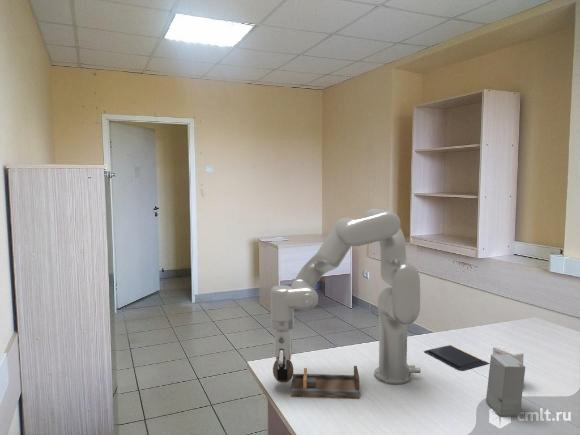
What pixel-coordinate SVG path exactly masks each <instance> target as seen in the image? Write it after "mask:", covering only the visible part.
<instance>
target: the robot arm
mask: <svg viewBox="0 0 580 435" xmlns="http://www.w3.org/2000/svg"><path fill="white" fill-rule="evenodd" d="M401 224H402V223H401V218H400V217H399V216H398V214H396V213H395V212H393V211H392V210H391V211H390V210H386V209H382V208H371V209H368V210H367V211H366V212H365V214H364V216H363V218H358V219H356V218H352V217H342V218H340V219H338V220H337V221H336V222H335V224H334V225H333V227H332V229H331V230H330V231H329V233H328V235H327V236H326V238H325V240H324V241H323V243H322V244H321V246H320V247H319V249H318V250H317V252H316V253H314V255H313V256H312V257H311V258H310V259H309V260H308V261H307V262H306V263H305V264H304V265H303V266H302V268H301V269H300V271H299V272H298V273H297V275H296V276H295V278H294V280H292V281H293V282H292V283H291V286H290V285H286V284H285V285H284V284H280V285H278V284H277V285H274V286H273V287H271V289H270V324H271V327H270V328H271V330H273V331H274V352H275V361H276V360H277V361H278V368H277V379H278V380H279V381H287V368H286V361H287V360H289V361H291V359H292V354H293V344H292V343H293V341H292V340H293V339H292V330H293V329H294V328H295V320H294V319H295V317H294V316H295V314H294V311H295V309H296V310H303V311H304V310H307V311H308V310H311V309H313V308H315V307H316V306H317V305H318V302H319V295H318V293H317V291H316V290H315V286H316V284H317V283H318V281H319V280H320V279H321V278H322V277H323V275H325V274H326V273H329V272H331V271H333V270H335V269H337V268H339V266H340V265H341V264H342V262H343V260H344V259H345V257H346V255H347V254H348V253H349V251H350V249H351V248H352V247H360V246H365V245H369V244H374V243H376V242H379V250H380V276H381V277H380V278H381V280H382V281H383V282H384V283H386V284H387V285H389V286H388V287H385V288H384V289H382V290H381V291H380V293H379V295H378V297H377V312H378V318H379V319H378V320H379V323H378V324H379V327H378V328H379V329H378V330H379V332H378V333H379V334H378V345H379V346H378V367H376V368H375V369H374V372H373V374H374V377H375V378H376V379H377V380H378V381H380V382H382V383H386V384H391V385H403V384H407V383H408V382H410V380H411V379H412V374H421V372H422V371H421V370H422V369H421V367H416V365H415V364H414V365H413V364H411V365H409V364H408V362H407V361H408V325H411V324H412V323H414V322H415V321H416V320H417V319H418V317H419V315H420V310H421V278H420V277H421V276H420V274H419V271H418V270H417V268H416V267H415V266H414V265H413V264H412V263H409V262H408V261H407V250H406V249H407V248H406V240H405V235H404V233H403V229H402V228H401ZM283 357H285V359H283ZM283 361H285V364H284V363H283Z"/></svg>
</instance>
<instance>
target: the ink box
mask: <svg viewBox="0 0 580 435" xmlns="http://www.w3.org/2000/svg"><path fill="white" fill-rule="evenodd" d="M492 354H510V355H511V356H512V357H514V358H515V359H517V360H518V361H519V362H520V363H521V364H522V365H524V352H522V351H518V350H516V349H514V348H511V347H508V346H506V345H503V344H502V345H501V344H500V345H495V346H493V347H492Z"/></svg>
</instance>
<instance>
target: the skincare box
mask: <svg viewBox="0 0 580 435" xmlns="http://www.w3.org/2000/svg"><path fill="white" fill-rule="evenodd" d="M489 363H490V364H489V370H488V371H489V372H488V377H487V378H488V379H487V388H486V397H485V402H486V404H487V405H488V406H490V408H491V409H492V410H493V411H494V412H496V414H498V415H499V416H500V417H505V416H506V417H508V416H509V417H510V416H511V417H515V416H516V417H517V416H521V408H522V397H523V391H524V382H525V374H526V373H525V372H526V366H525V365H524V364H523V365H522V364H521V363H520V362H519V361H518V360H517V359H515V358H514V357H512V356H511V355H510V354H493V353H492V354H491V355H490V360H489Z"/></svg>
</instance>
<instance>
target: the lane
mask: <svg viewBox="0 0 580 435" xmlns="http://www.w3.org/2000/svg"><path fill="white" fill-rule="evenodd" d="M303 377H304V373H293V376H292V378H291V386H290V398H315V399H317V398H318V399H320V398H321V399H348V400H349V399H355V400H356V399H359V400H360V399H361V397H360V396H361V395H360V393H361V392H360V374H359V369H358V365H353V374H328V373H327V374H326V373H325V374H323V373H321V374H320V373H316V374H315V373H313V374H311V373H307V378H316V387H309V386H307V389H303Z"/></svg>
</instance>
